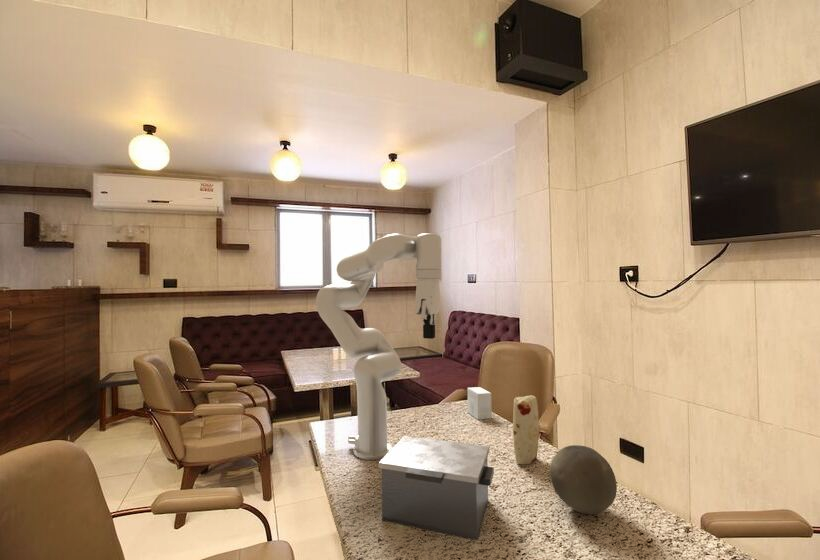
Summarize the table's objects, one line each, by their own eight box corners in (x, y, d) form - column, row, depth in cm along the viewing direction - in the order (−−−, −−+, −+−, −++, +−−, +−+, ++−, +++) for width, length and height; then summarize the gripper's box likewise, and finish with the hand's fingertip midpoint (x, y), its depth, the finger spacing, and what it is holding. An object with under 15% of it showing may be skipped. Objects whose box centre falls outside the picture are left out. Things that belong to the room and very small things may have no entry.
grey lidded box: (373, 518, 89) (372, 466, 89) (398, 484, 104) (397, 440, 104) (487, 542, 80) (486, 484, 80) (497, 501, 95) (496, 453, 95)
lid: (374, 472, 86) (374, 467, 86) (404, 440, 104) (404, 435, 104) (476, 489, 78) (476, 483, 78) (489, 451, 96) (489, 446, 96)
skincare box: (492, 418, 155) (491, 392, 155) (478, 420, 154) (477, 393, 154) (480, 410, 165) (480, 386, 166) (467, 412, 164) (466, 387, 164)
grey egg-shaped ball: (562, 489, 100) (561, 432, 101) (622, 509, 91) (621, 445, 92) (542, 515, 89) (541, 450, 90) (609, 539, 80) (607, 468, 81)
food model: (526, 470, 111) (525, 401, 111) (507, 462, 116) (506, 396, 117) (545, 460, 117) (543, 395, 118) (526, 453, 122) (524, 390, 123)
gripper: (424, 276, 121) (425, 334, 121) (407, 275, 107) (408, 341, 107) (447, 276, 118) (448, 335, 118) (433, 275, 104) (433, 342, 104)
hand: (429, 338), depth 112 cm, fingers closed
